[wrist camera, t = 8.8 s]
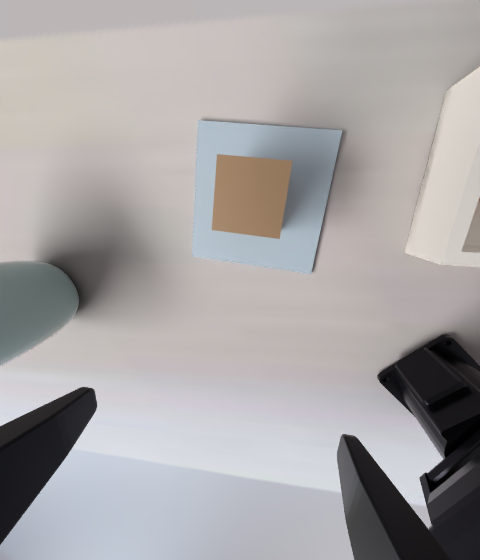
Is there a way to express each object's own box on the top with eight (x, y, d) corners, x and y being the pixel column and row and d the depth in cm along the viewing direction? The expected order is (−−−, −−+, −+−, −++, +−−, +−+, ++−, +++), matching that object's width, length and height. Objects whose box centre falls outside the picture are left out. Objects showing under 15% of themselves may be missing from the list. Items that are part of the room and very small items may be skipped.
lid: (339, 134, 16) (371, 93, 10) (309, 271, 19) (322, 296, 13) (201, 124, 17) (164, 83, 11) (195, 254, 20) (163, 271, 15)
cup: (11, 270, 23) (-171, 311, 14) (62, 240, 21) (-111, 262, 12) (55, 333, 25) (-83, 408, 15) (106, 310, 23) (-16, 381, 13)
